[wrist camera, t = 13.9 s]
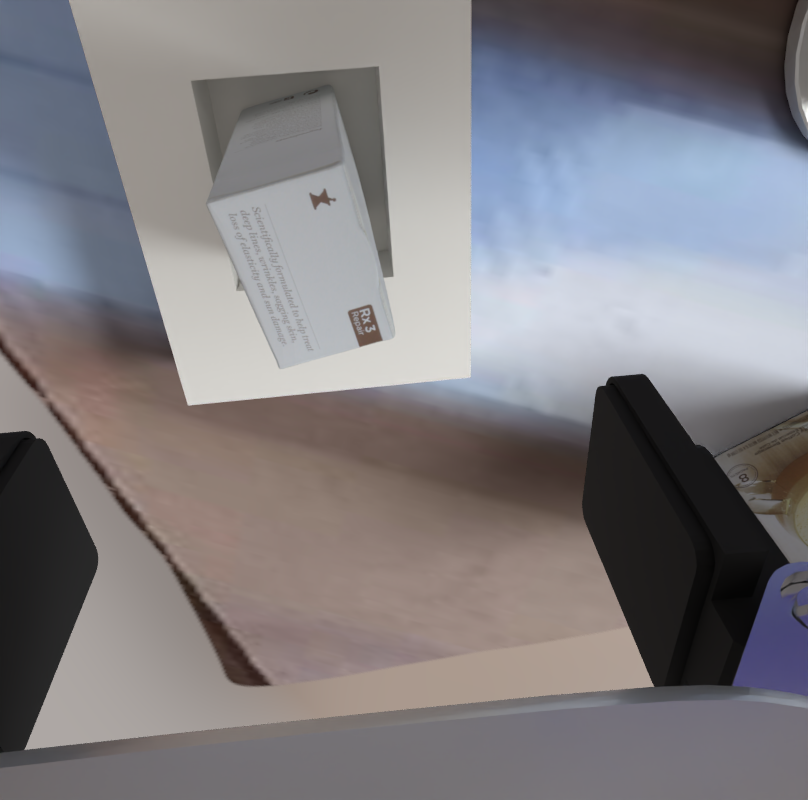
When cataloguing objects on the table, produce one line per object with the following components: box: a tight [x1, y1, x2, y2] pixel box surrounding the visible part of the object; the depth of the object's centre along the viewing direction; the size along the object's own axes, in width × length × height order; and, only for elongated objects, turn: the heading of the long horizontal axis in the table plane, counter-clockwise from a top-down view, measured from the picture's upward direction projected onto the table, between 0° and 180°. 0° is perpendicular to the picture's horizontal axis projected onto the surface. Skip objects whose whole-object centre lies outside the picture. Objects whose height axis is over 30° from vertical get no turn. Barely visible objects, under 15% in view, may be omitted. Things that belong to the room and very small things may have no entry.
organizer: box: [69, 0, 471, 405], centre depth 29 cm, size 14×20×4 cm
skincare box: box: [206, 85, 395, 369], centre depth 25 cm, size 6×4×12 cm
